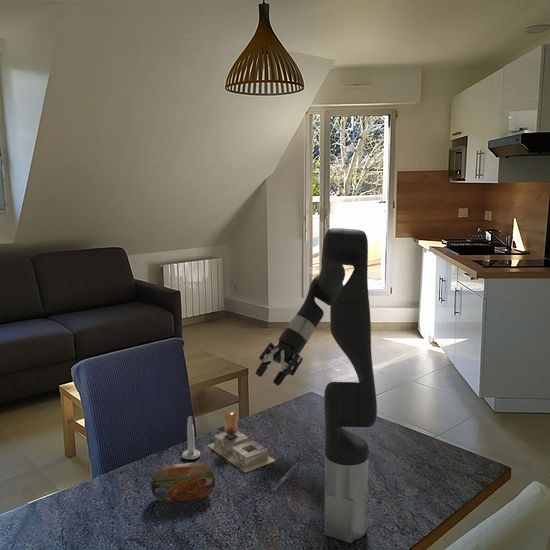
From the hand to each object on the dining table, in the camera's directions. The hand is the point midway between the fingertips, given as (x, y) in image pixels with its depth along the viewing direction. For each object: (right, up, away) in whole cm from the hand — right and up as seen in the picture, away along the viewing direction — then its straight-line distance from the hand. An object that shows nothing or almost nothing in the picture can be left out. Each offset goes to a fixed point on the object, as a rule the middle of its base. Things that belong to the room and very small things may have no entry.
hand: (266, 379), depth 162 cm
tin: (-20, -24, -26) cm, 40 cm away
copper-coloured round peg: (-10, -18, -4) cm, 21 cm away
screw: (-20, -21, -9) cm, 30 cm away
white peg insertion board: (-7, -20, -7) cm, 22 cm away
